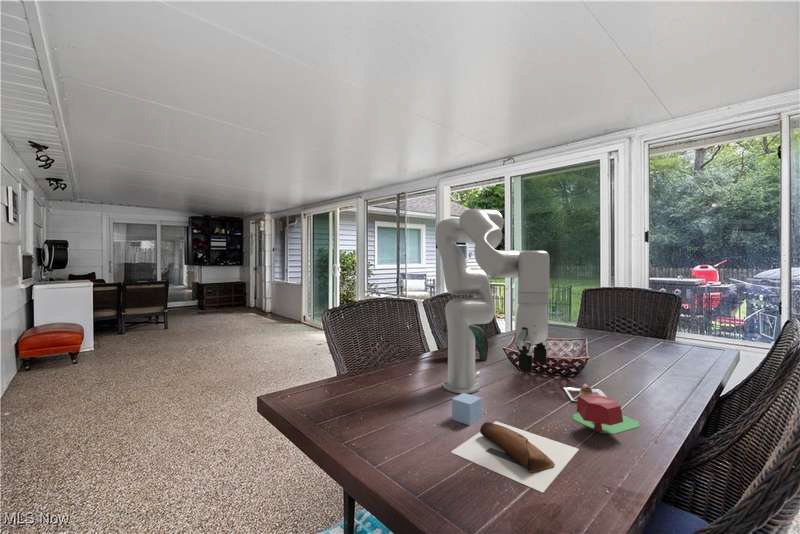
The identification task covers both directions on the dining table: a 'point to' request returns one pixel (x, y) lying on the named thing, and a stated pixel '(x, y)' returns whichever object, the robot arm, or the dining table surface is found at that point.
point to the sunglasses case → (517, 447)
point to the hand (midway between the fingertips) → (533, 366)
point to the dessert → (583, 391)
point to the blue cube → (466, 408)
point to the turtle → (602, 415)
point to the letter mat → (504, 464)
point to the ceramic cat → (480, 340)
